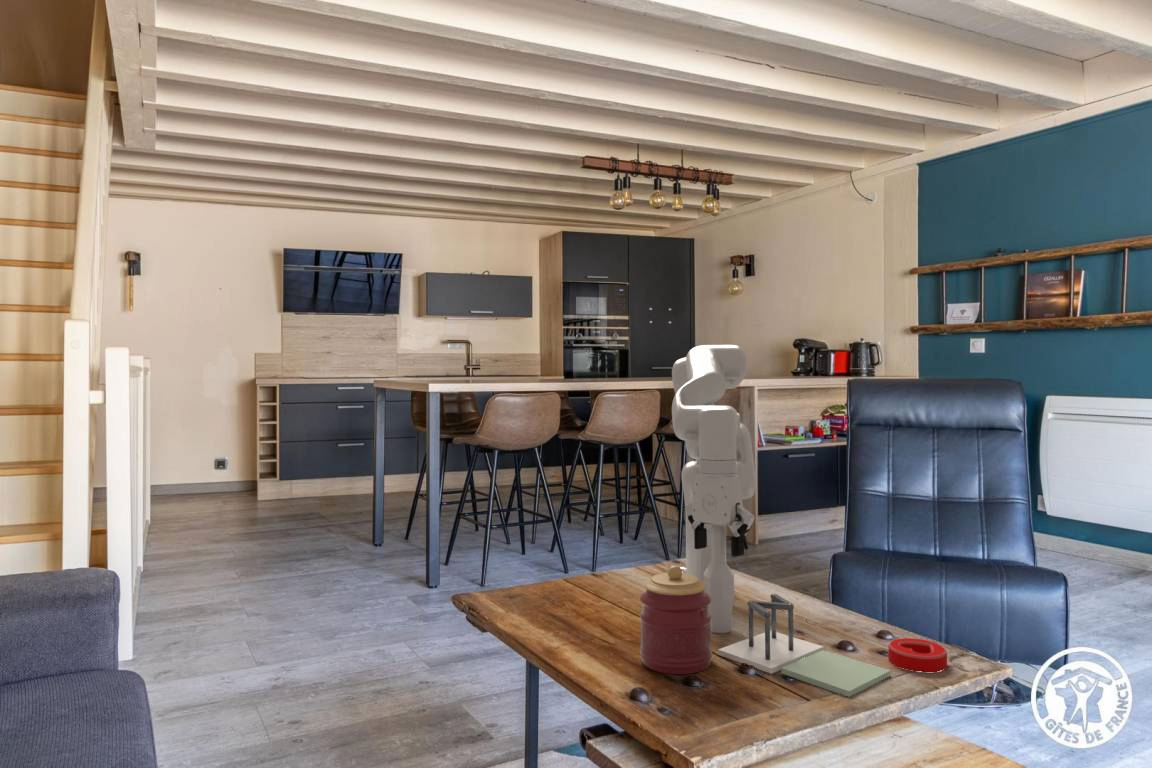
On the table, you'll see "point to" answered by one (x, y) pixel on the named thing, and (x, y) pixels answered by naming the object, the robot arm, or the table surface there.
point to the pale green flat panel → (836, 672)
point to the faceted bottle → (719, 583)
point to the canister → (675, 623)
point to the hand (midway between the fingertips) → (718, 551)
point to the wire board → (777, 652)
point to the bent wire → (761, 608)
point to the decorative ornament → (917, 655)
